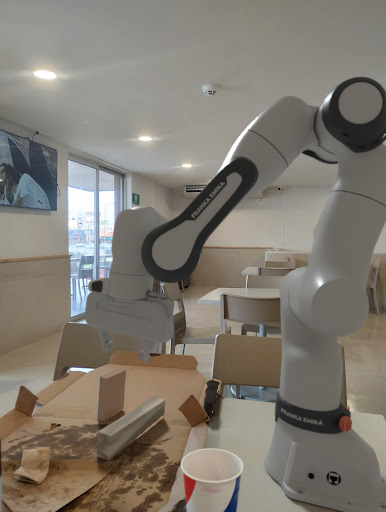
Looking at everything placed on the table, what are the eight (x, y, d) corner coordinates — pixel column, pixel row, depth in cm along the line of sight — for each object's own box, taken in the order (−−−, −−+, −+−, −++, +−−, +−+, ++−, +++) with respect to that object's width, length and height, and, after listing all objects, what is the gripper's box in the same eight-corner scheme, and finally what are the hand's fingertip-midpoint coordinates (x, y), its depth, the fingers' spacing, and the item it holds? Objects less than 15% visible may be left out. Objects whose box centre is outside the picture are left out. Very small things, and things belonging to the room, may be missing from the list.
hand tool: (205, 392, 106) (207, 376, 106) (219, 394, 106) (221, 377, 105) (194, 423, 88) (196, 403, 88) (211, 425, 87) (212, 406, 87)
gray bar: (163, 420, 88) (165, 399, 88) (108, 462, 70) (110, 436, 70) (153, 416, 89) (154, 396, 89) (96, 457, 72) (98, 431, 71)
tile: (123, 410, 91) (126, 370, 91) (104, 421, 85) (106, 378, 84) (116, 408, 92) (119, 368, 92) (97, 419, 86) (100, 376, 85)
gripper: (183, 293, 72) (176, 363, 73) (103, 280, 82) (98, 341, 83) (165, 296, 67) (158, 372, 67) (82, 281, 77) (76, 347, 77)
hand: (124, 355), depth 75 cm, fingers open, 8 cm apart
